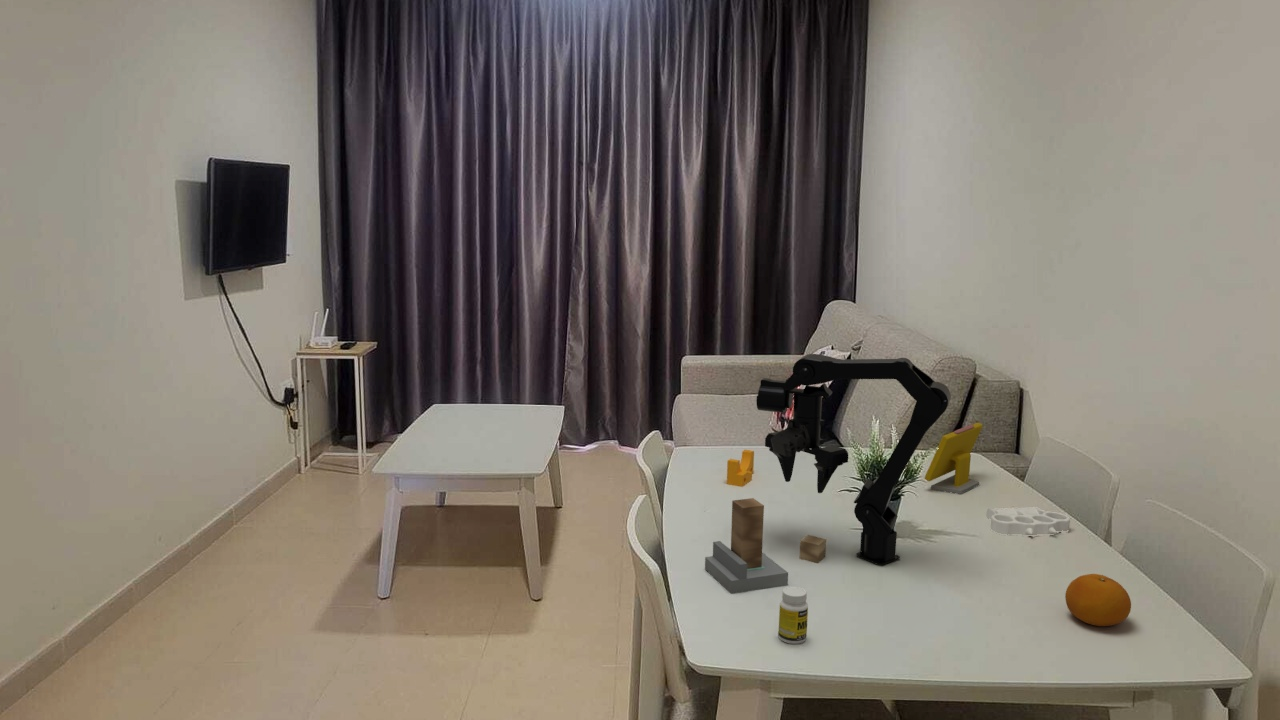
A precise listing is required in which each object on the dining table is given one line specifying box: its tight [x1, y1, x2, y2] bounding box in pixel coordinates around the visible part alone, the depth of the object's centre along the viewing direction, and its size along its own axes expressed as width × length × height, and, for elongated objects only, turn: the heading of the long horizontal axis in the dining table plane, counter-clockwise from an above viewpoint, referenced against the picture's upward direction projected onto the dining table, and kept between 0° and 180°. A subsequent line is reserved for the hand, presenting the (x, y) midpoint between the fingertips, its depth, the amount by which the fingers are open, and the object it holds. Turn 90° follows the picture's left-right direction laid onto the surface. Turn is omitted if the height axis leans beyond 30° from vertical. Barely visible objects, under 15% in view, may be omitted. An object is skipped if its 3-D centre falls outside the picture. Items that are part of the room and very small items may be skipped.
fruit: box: [1064, 573, 1132, 627], centre depth 164 cm, size 10×10×8 cm
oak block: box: [799, 534, 827, 564], centre depth 191 cm, size 4×4×4 cm
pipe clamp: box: [726, 449, 755, 488], centre depth 242 cm, size 12×4×6 cm, turn 152°
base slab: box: [704, 540, 789, 594], centre depth 181 cm, size 12×12×6 cm
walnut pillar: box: [730, 497, 765, 569], centre depth 180 cm, size 4×4×12 cm
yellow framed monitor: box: [924, 422, 984, 495], centre depth 238 cm, size 20×8×16 cm, turn 136°
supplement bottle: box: [777, 586, 809, 645], centre depth 156 cm, size 5×5×8 cm
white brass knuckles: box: [985, 505, 1071, 535], centre depth 210 cm, size 3×18×15 cm
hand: (803, 487), depth 195 cm, fingers open, 9 cm apart
